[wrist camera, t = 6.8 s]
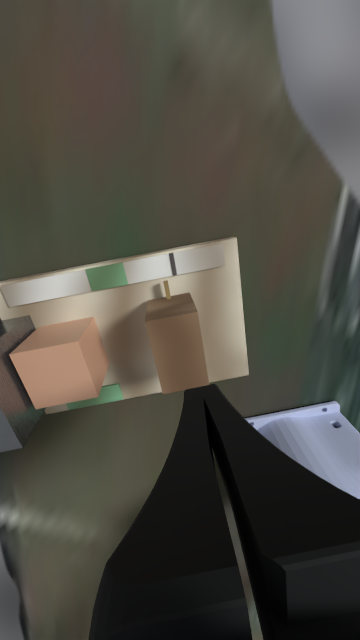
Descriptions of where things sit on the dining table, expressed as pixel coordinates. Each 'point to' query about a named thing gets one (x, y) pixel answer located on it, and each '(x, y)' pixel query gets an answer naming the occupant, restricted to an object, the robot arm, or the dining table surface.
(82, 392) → the peach matte cube
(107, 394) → the gauge board
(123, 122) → the dining table surface
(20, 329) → the grey flat block
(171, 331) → the brown box with peg
